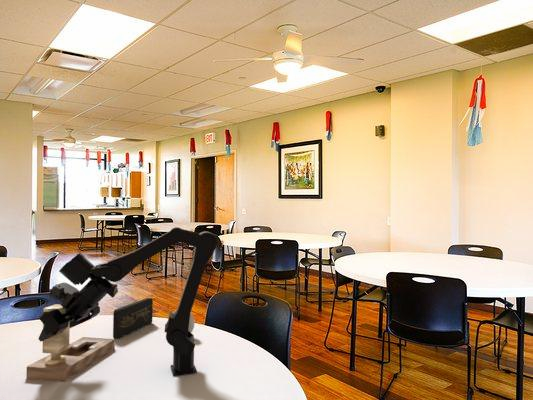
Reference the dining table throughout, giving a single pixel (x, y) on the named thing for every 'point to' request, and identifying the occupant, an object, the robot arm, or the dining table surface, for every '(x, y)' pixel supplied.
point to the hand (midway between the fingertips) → (51, 334)
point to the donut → (190, 322)
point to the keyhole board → (72, 359)
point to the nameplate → (132, 317)
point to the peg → (56, 342)
